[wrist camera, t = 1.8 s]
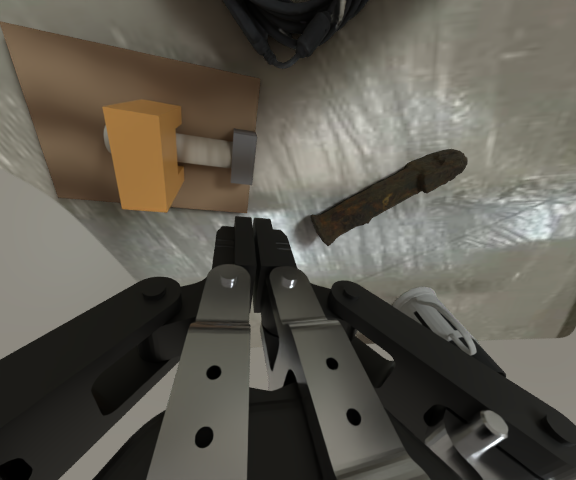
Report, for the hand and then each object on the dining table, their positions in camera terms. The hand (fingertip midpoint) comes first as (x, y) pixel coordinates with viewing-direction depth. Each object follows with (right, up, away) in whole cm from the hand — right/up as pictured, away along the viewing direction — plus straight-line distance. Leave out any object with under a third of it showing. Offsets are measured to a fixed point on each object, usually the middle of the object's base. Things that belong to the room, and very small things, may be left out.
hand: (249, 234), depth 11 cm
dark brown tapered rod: (+13, +7, +19) cm, 24 cm away
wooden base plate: (-11, +10, +12) cm, 19 cm away
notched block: (-9, +9, +11) cm, 17 cm away
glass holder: (+24, -10, +33) cm, 42 cm away
